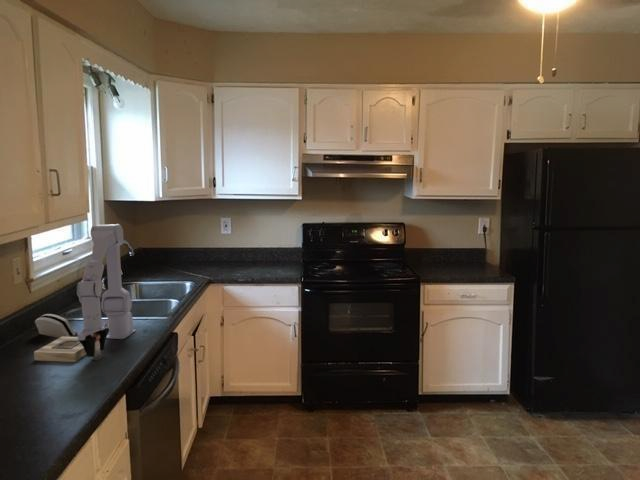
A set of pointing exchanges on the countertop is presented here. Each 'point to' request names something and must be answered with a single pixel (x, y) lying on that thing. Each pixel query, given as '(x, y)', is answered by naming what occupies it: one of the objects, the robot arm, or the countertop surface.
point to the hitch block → (61, 350)
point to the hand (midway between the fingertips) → (95, 353)
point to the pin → (96, 347)
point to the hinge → (54, 326)
